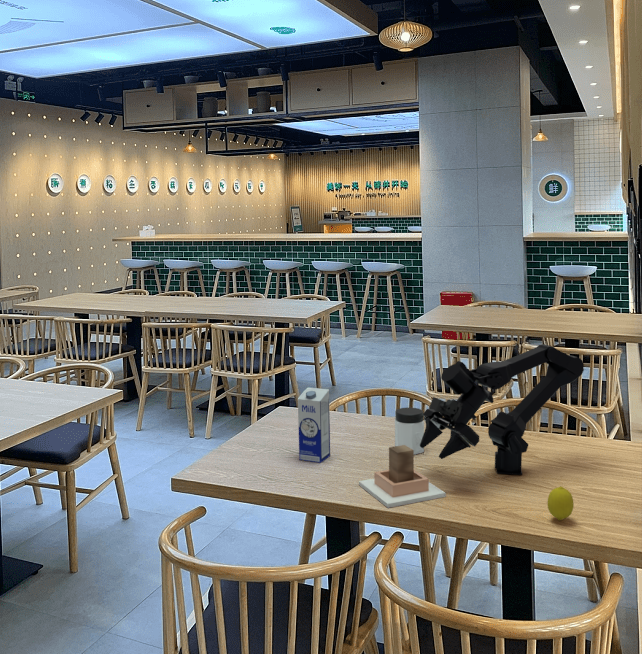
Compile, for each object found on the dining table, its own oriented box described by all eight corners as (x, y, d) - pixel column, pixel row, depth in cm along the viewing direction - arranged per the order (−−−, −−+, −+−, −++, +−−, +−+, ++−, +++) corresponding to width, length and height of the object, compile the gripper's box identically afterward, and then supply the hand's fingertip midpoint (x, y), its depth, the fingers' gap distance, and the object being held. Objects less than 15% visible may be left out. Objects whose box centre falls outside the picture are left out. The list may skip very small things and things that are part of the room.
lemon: (567, 514, 162) (568, 481, 161) (576, 525, 157) (578, 490, 155) (543, 515, 162) (544, 482, 161) (552, 526, 156) (553, 491, 155)
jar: (406, 457, 202) (406, 416, 200) (388, 449, 209) (388, 410, 207) (430, 451, 207) (430, 411, 205) (411, 444, 214) (411, 405, 212)
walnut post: (404, 482, 181) (404, 444, 179) (413, 488, 177) (413, 450, 175) (389, 485, 179) (388, 447, 177) (397, 491, 175) (397, 452, 173)
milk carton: (330, 455, 205) (329, 388, 202) (321, 463, 199) (319, 394, 196) (308, 452, 208) (307, 386, 204) (298, 460, 202) (296, 392, 198)
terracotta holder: (413, 475, 188) (413, 460, 188) (445, 496, 174) (445, 481, 173) (358, 484, 182) (358, 470, 182) (387, 507, 168) (387, 491, 167)
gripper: (429, 378, 188) (392, 424, 185) (469, 394, 171) (430, 444, 168) (454, 403, 192) (418, 448, 190) (496, 421, 175) (458, 471, 173)
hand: (430, 452), depth 180 cm, fingers open, 9 cm apart
